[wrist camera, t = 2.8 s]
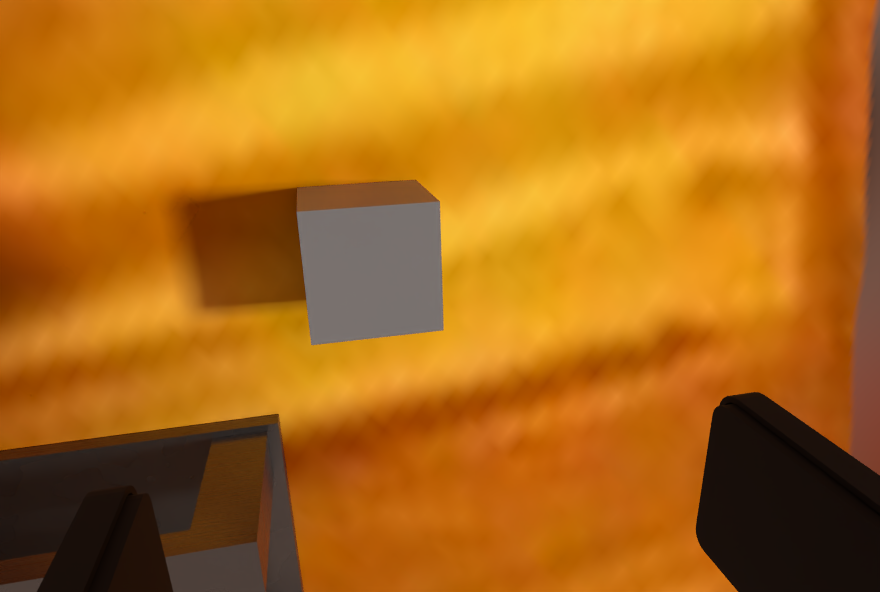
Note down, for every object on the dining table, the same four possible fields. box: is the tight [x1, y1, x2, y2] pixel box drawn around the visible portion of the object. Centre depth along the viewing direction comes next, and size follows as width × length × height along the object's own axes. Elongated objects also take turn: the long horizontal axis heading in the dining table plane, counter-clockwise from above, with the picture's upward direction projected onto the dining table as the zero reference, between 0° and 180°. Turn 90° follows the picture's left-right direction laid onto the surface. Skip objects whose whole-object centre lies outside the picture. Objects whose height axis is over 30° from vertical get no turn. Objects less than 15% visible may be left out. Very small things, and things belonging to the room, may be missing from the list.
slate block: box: [296, 180, 443, 345], centre depth 24 cm, size 5×5×5 cm
